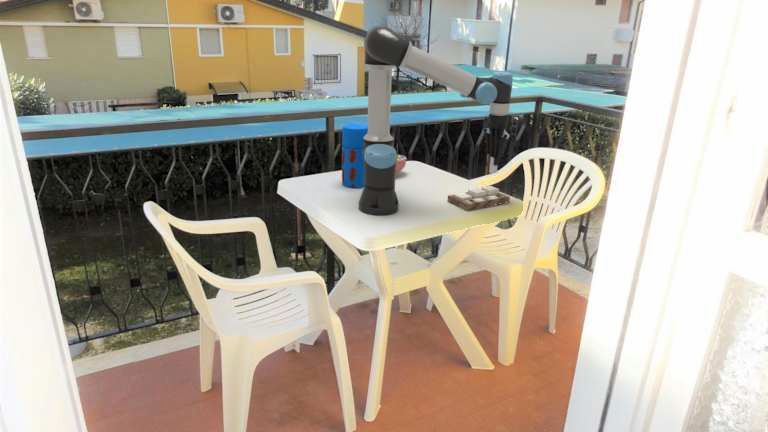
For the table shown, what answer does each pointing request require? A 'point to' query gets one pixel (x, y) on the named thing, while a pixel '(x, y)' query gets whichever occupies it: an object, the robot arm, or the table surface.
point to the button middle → (476, 193)
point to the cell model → (400, 162)
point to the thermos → (353, 155)
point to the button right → (490, 190)
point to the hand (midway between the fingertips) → (492, 172)
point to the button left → (462, 196)
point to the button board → (478, 201)
